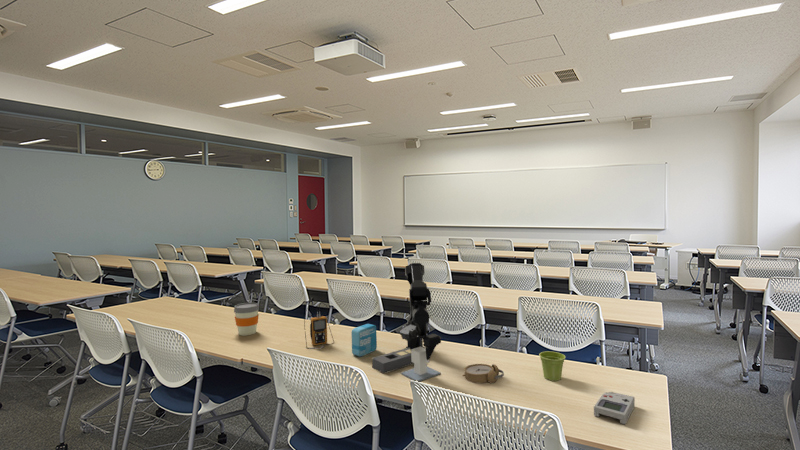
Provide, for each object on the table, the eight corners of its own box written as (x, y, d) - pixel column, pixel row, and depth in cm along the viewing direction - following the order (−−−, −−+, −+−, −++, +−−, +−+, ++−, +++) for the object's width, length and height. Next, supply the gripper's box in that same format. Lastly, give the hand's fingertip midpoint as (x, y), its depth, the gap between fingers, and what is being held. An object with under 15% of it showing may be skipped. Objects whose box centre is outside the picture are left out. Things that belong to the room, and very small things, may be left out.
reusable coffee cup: (264, 331, 226) (263, 304, 225) (245, 337, 216) (243, 309, 215) (249, 328, 233) (248, 301, 232) (229, 334, 222) (228, 306, 222)
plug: (421, 369, 168) (420, 346, 168) (429, 372, 164) (429, 349, 164) (411, 372, 165) (411, 349, 165) (419, 376, 161) (419, 352, 161)
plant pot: (536, 373, 163) (536, 351, 163) (560, 372, 163) (560, 351, 163) (543, 383, 154) (543, 360, 154) (569, 382, 154) (569, 359, 153)
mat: (424, 366, 172) (424, 365, 172) (440, 373, 164) (440, 372, 164) (401, 374, 165) (401, 372, 165) (417, 382, 157) (417, 380, 157)
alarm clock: (466, 363, 168) (504, 361, 162) (469, 375, 168) (506, 373, 162) (460, 373, 157) (500, 371, 152) (462, 386, 157) (502, 385, 152)
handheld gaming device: (634, 407, 135) (634, 396, 135) (625, 426, 124) (625, 414, 124) (605, 400, 141) (605, 389, 141) (593, 418, 129) (593, 406, 129)
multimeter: (309, 352, 192) (308, 309, 191) (304, 345, 201) (302, 304, 200) (339, 346, 199) (338, 305, 198) (333, 340, 208) (331, 301, 207)
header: (410, 356, 185) (409, 346, 184) (421, 361, 178) (421, 351, 178) (372, 367, 172) (372, 357, 172) (383, 373, 166) (383, 363, 166)
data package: (359, 357, 184) (358, 330, 184) (351, 355, 187) (351, 329, 186) (377, 349, 194) (376, 324, 193) (369, 348, 196) (369, 322, 196)
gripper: (389, 316, 166) (390, 354, 167) (419, 326, 151) (419, 369, 152) (410, 311, 173) (411, 348, 174) (441, 321, 158) (442, 361, 159)
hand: (420, 356), depth 164 cm, fingers open, 9 cm apart
